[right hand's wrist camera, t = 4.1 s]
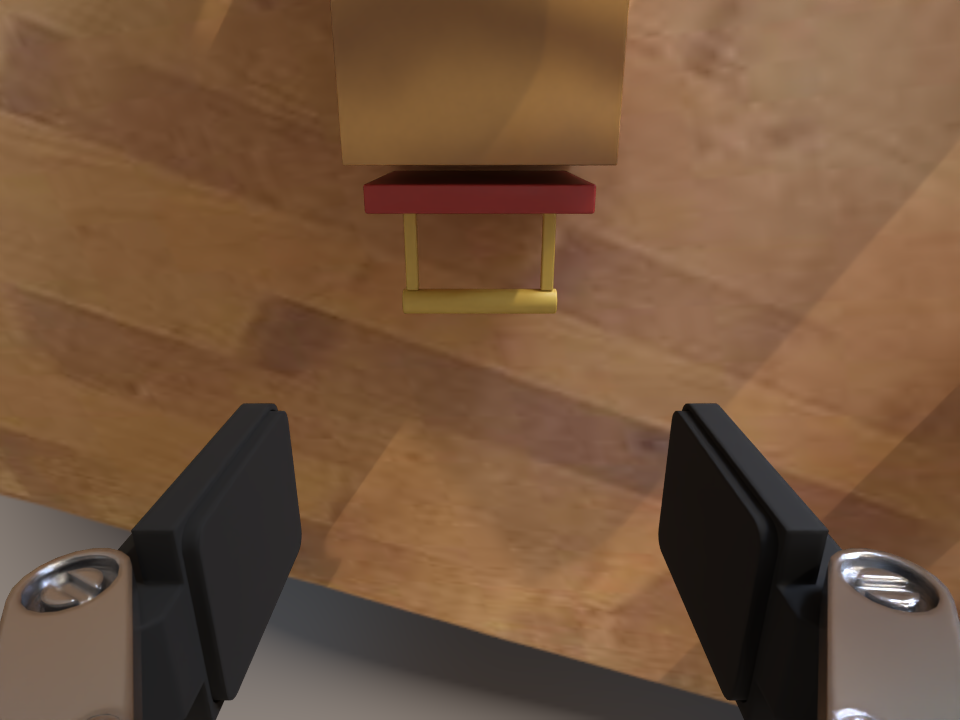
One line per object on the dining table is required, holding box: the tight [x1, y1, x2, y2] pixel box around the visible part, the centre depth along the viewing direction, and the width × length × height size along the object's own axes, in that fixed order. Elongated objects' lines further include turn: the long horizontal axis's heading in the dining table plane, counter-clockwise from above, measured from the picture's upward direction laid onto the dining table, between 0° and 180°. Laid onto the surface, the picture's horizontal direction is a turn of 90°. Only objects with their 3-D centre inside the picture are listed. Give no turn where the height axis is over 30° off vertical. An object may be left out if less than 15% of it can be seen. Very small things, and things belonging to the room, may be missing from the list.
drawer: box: [363, 171, 596, 314], centre depth 28 cm, size 24×10×9 cm, turn 0°
